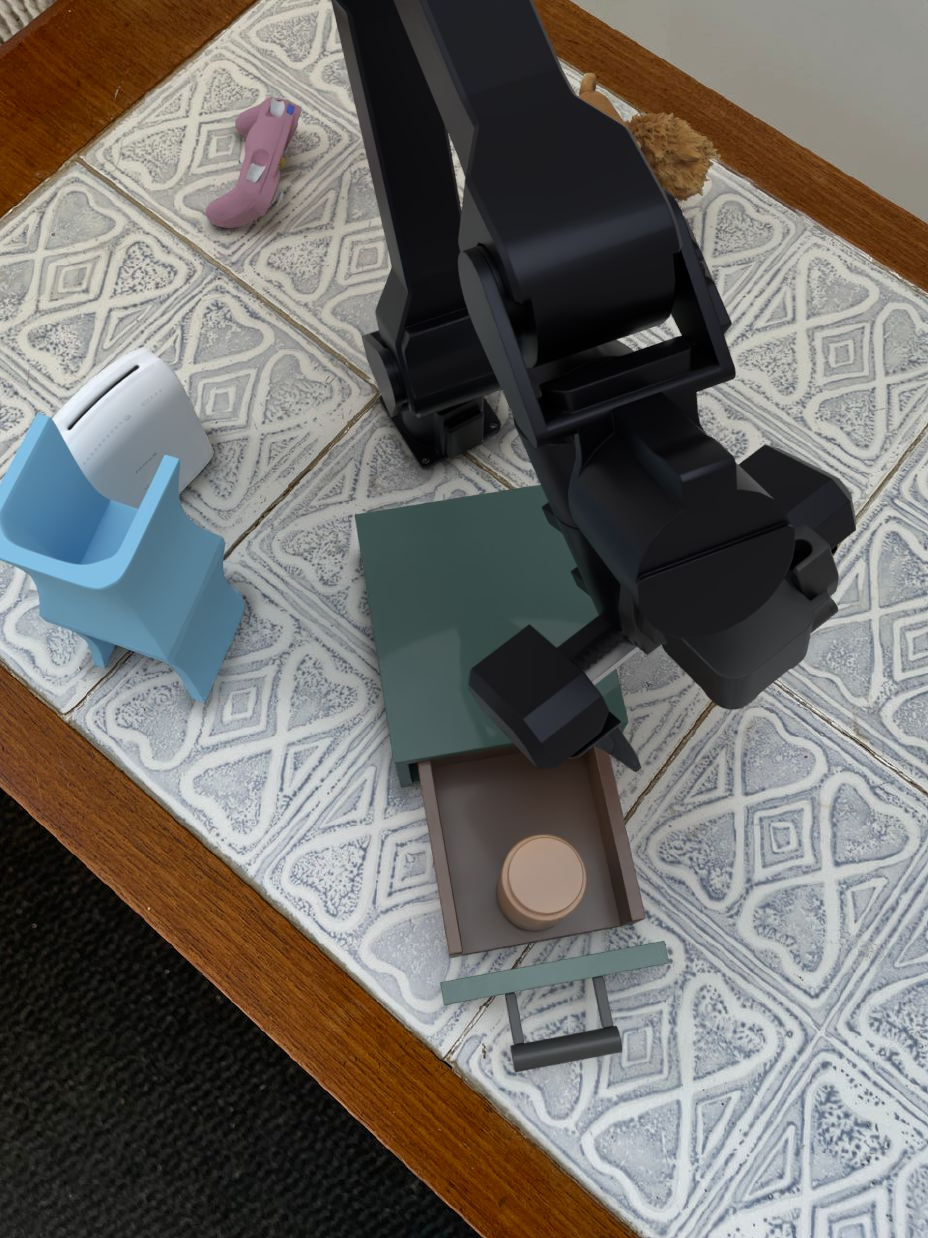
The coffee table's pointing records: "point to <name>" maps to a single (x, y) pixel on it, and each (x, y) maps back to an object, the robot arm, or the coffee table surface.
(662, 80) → the coffee table surface
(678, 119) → the stuffed squirrel
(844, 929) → the coffee table surface
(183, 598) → the light blue toy chair
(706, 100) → the coffee table surface
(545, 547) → the cabinet
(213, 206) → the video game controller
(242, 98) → the coffee table surface
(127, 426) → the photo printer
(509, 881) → the tan lidded cylinder
